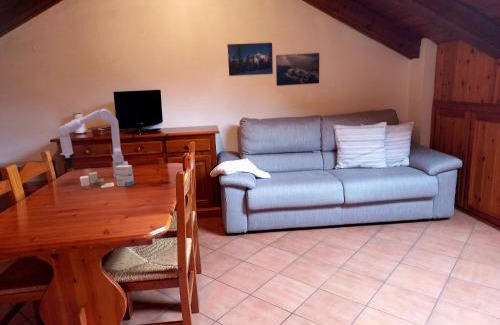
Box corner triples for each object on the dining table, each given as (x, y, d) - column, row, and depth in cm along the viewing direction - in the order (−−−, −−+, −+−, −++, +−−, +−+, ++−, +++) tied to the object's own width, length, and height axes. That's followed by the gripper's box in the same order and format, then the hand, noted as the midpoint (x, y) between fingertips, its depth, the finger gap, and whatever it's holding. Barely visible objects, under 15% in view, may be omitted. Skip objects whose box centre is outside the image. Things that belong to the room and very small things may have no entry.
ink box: (134, 183, 206) (132, 164, 203) (131, 186, 201) (128, 166, 198) (121, 183, 206) (118, 165, 204) (117, 186, 202) (114, 167, 199)
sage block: (97, 179, 219) (96, 171, 218) (98, 181, 215) (96, 173, 214) (90, 180, 217) (89, 173, 216) (90, 182, 213) (89, 174, 212)
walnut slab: (104, 183, 210) (103, 178, 209) (104, 185, 204) (104, 181, 203) (91, 185, 207) (91, 180, 207) (92, 188, 201) (91, 183, 200)
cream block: (89, 183, 211) (88, 175, 210) (89, 185, 207) (88, 177, 206) (81, 184, 210) (80, 176, 208) (81, 186, 206) (80, 178, 204)
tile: (113, 183, 209) (113, 182, 208) (114, 186, 202) (114, 185, 202) (101, 185, 206) (100, 184, 206) (101, 188, 200) (101, 187, 199)
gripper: (59, 144, 213) (63, 165, 217) (58, 148, 200) (62, 170, 204) (72, 143, 216) (76, 164, 219) (71, 146, 203) (75, 168, 206)
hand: (70, 167), depth 212 cm, fingers open, 7 cm apart
